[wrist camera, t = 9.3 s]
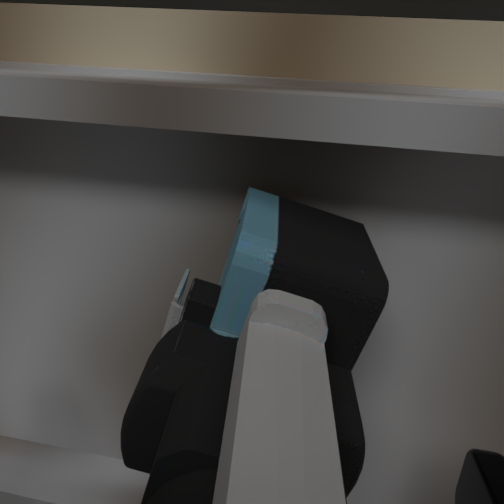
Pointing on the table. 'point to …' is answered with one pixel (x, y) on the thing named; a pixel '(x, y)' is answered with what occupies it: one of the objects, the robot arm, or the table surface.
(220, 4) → the table surface
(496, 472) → the robot arm
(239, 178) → the rail board
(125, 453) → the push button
